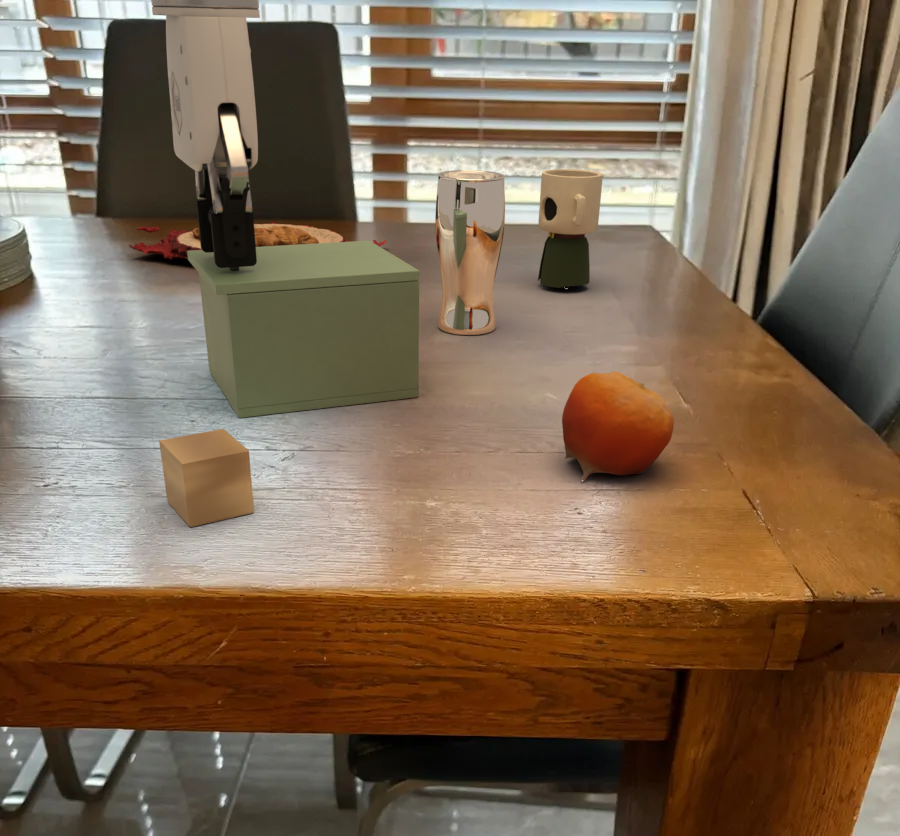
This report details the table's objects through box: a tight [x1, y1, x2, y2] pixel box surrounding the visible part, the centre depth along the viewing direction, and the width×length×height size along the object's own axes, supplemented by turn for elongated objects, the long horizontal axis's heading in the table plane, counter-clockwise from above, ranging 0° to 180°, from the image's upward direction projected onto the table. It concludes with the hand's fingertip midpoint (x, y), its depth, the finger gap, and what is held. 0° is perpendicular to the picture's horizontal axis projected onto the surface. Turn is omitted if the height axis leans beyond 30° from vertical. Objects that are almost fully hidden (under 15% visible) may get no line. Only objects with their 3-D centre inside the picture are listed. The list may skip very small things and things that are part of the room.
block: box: [158, 428, 255, 528], centre depth 64 cm, size 4×4×4 cm
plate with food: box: [128, 221, 388, 261], centre depth 131 cm, size 24×26×4 cm
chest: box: [198, 273, 420, 419], centre depth 84 cm, size 16×13×10 cm
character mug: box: [537, 168, 604, 289], centre depth 117 cm, size 11×7×13 cm, turn 8°
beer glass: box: [434, 169, 506, 336], centre depth 100 cm, size 7×7×15 cm
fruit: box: [561, 371, 675, 481], centre depth 71 cm, size 8×8×8 cm
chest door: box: [187, 206, 420, 295], centre depth 80 cm, size 16×13×5 cm
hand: (228, 255), depth 79 cm, fingers closed on chest door, 5 cm apart
